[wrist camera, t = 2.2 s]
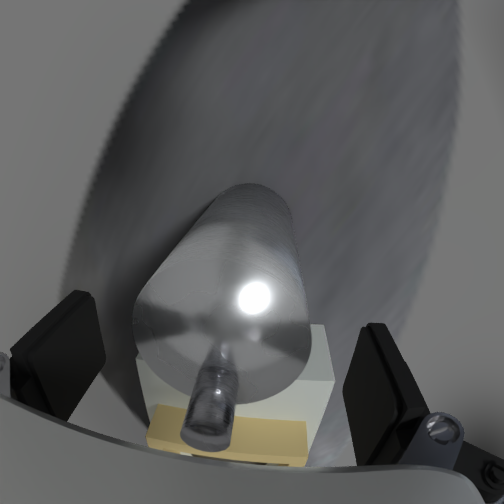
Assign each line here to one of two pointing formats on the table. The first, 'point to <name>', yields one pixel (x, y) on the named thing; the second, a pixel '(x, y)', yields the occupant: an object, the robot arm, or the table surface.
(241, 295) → the spout can
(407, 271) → the table surface
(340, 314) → the table surface
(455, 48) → the table surface
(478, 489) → the robot arm
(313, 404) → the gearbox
